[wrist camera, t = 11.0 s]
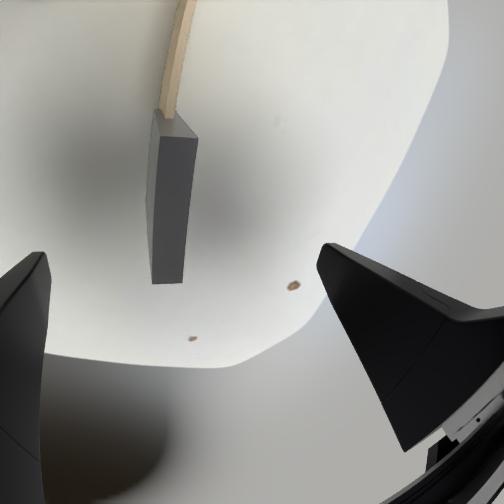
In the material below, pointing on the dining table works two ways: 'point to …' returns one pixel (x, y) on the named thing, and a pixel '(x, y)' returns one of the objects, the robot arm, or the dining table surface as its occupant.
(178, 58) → the grey and tan blocks
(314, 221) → the dining table surface
